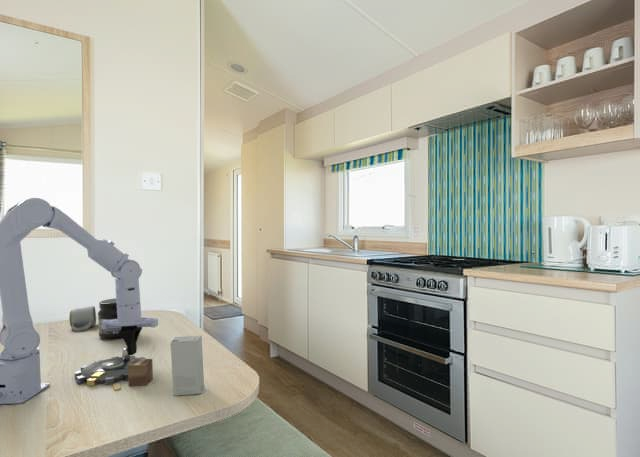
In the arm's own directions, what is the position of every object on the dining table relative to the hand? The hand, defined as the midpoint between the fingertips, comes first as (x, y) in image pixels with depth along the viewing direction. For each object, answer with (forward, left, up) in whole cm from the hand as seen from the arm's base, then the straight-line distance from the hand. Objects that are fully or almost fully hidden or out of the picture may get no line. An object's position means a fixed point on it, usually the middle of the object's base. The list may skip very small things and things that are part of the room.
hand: (132, 353), depth 106 cm
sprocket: (-5, +3, -3) cm, 7 cm away
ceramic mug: (+39, +35, -3) cm, 53 cm away
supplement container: (+28, +18, -3) cm, 33 cm away
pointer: (-15, -3, -3) cm, 15 cm away
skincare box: (-18, -20, -3) cm, 28 cm away
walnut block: (-12, -7, -3) cm, 15 cm away
